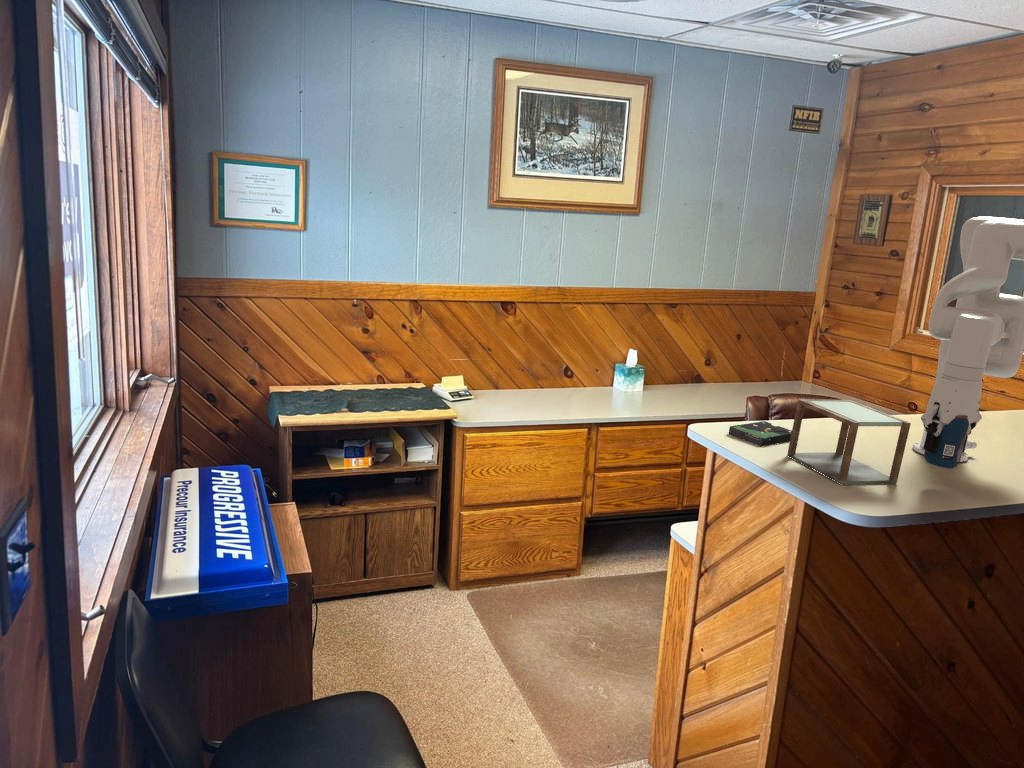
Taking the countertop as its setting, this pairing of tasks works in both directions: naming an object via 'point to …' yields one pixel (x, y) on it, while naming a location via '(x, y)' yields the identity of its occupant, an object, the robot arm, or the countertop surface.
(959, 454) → the soda can
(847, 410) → the trapdoor
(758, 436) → the disk drive
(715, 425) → the countertop surface
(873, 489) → the countertop surface
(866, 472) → the frame
